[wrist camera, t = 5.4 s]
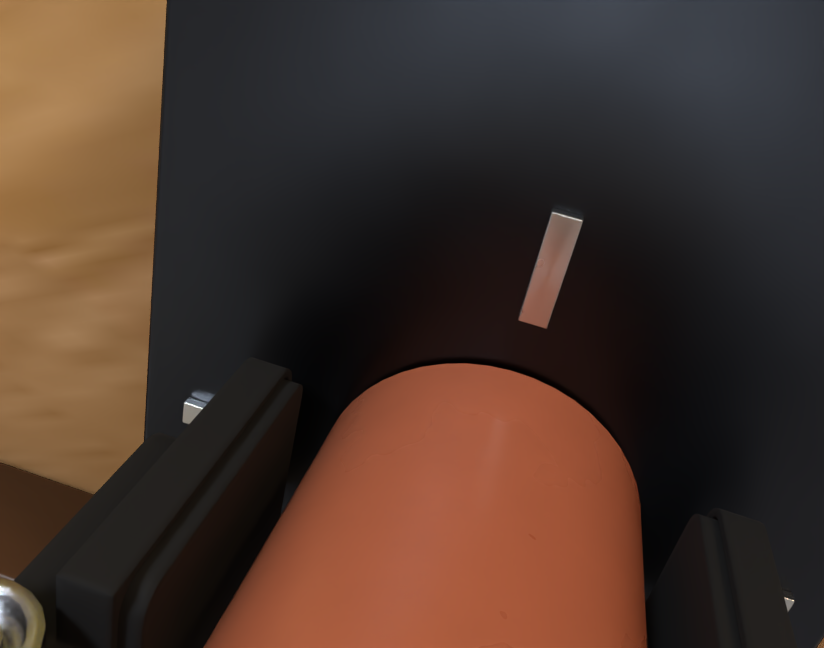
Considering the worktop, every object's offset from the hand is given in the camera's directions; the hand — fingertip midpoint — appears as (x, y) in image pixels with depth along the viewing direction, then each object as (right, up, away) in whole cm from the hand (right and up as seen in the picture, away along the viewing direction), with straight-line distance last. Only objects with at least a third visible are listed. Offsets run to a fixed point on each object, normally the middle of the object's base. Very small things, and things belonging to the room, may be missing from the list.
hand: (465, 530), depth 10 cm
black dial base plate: (+1, +1, +3) cm, 3 cm away
